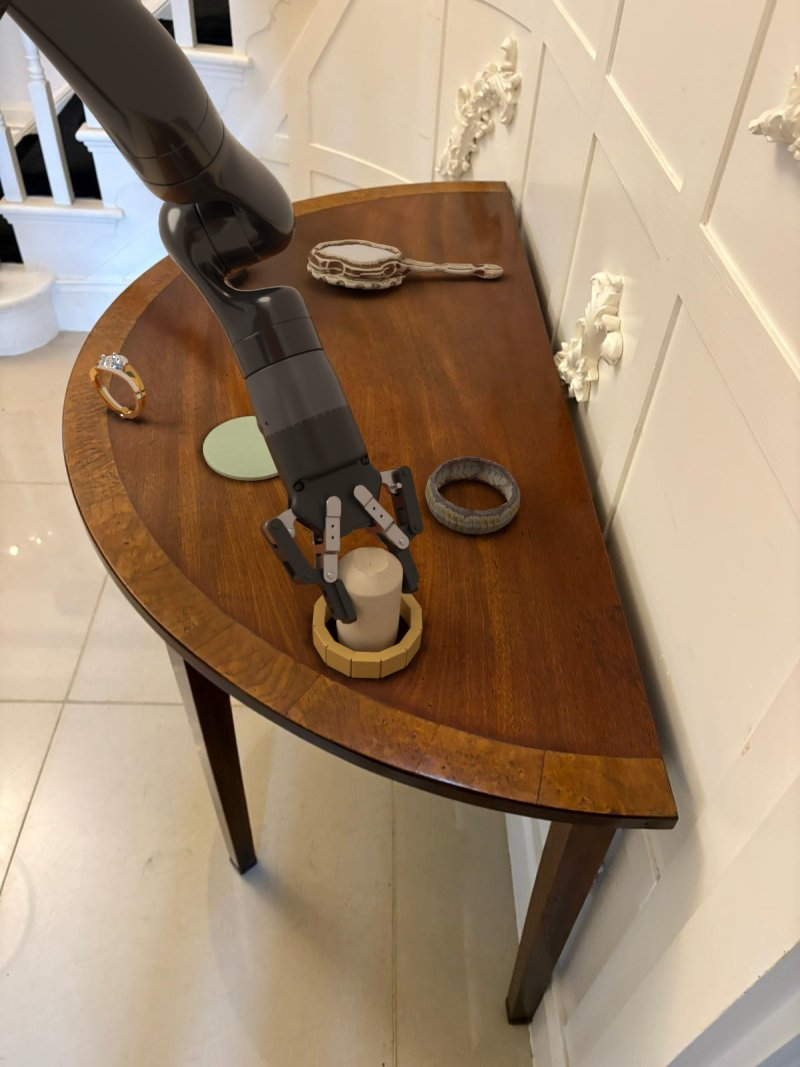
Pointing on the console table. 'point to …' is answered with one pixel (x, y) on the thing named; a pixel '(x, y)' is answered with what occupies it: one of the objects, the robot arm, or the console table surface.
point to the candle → (371, 599)
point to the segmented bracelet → (368, 661)
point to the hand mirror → (378, 265)
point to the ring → (118, 367)
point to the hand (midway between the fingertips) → (380, 606)
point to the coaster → (239, 451)
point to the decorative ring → (467, 518)
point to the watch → (237, 278)
